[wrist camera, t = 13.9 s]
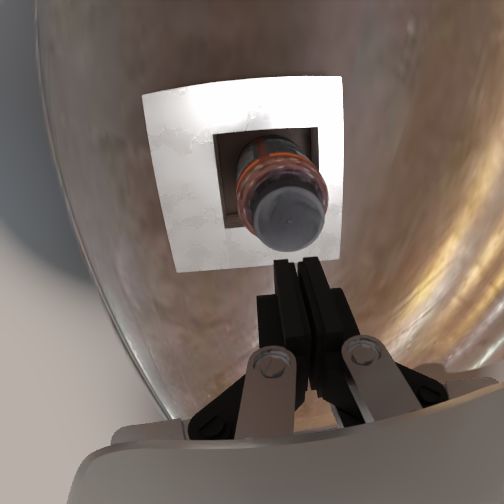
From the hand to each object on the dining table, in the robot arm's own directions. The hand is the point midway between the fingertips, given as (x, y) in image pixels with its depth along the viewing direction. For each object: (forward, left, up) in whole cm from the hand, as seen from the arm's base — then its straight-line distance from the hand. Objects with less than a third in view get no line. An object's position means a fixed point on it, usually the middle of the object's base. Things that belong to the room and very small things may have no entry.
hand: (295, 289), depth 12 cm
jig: (+1, 0, -17) cm, 17 cm away
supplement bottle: (0, 0, -17) cm, 17 cm away
